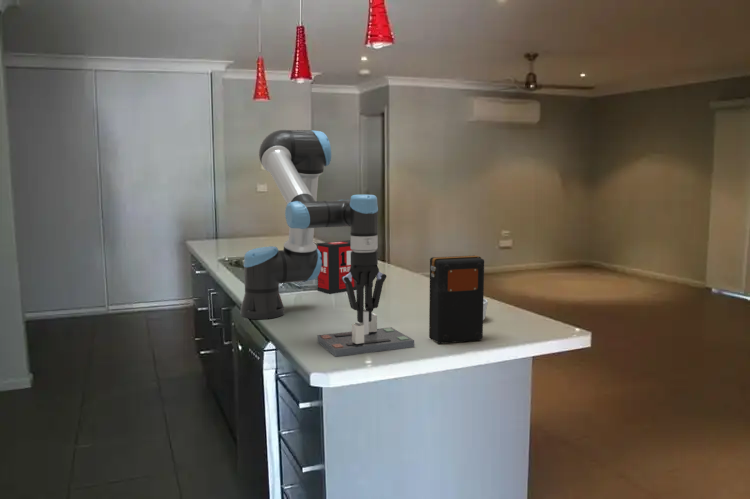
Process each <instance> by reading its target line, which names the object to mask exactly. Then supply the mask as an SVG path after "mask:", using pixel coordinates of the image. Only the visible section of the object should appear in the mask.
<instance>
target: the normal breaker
mask: <svg viewBox="0 0 750 499" xmlns="http://www.w3.org/2000/svg"><path fill="white" fill-rule="evenodd" d="M377 329H378V315H377V314H376V313H374V312H372V320H371V322H369V332H376V331H377Z"/></svg>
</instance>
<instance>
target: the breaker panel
mask: <svg viewBox="0 0 750 499" xmlns="http://www.w3.org/2000/svg"><path fill="white" fill-rule="evenodd" d="M316 336H317V338H316V341H317V343H318V344H319V345H320V346H322V347H323V349H327V350H326V351H328V352H329V353H330V354H331V355H333V356H334V357H335V358H337V357H346V356H354V355H361V354H368V353H377V352H378V353H379V352H385V351H393V350H394V351H395V350H399V349H402V350H403V349H409V348H414V347H415V339H413V338H411V337H410V336H408V335H406V334H404V333H402V332H400V331H399V330H397V329H395V328H394V327H390V326H389V327H383V328H381V327H380V328H377V331H376V332H369V334H366V335H364V343H359V344H355V343H354V342H352V331H345V332H335V333H328V334H319V335H318V334H317V335H316Z"/></svg>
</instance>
